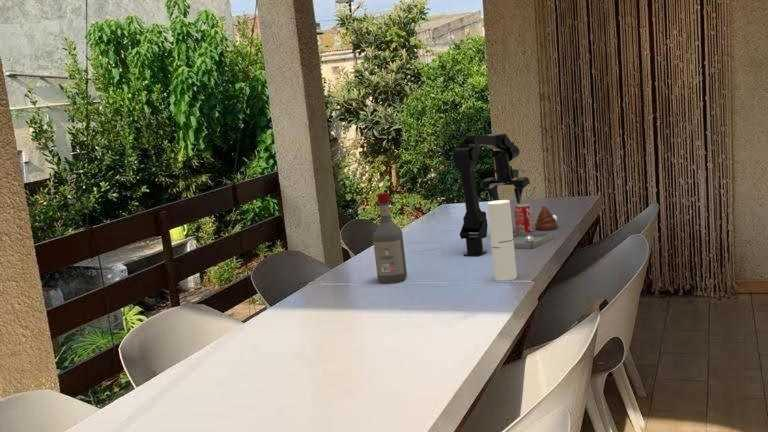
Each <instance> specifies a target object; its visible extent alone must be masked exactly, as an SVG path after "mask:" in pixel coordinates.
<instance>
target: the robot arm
mask: <svg viewBox="0 0 768 432" xmlns="http://www.w3.org/2000/svg"><path fill="white" fill-rule="evenodd" d="M470 146H473V147H470ZM480 146H482V147H483V146H486V147H487V148H488V149H490V150H492V153H491V154H490V158H493V163H494V170H493V173H494V174H495V175H496V177H487V178H485V179H483V180H482V181H481V183H480V186H481V189H484V191H486V192H487V193H488V194H489V195H490V196H491V197H492V199H493V201H497V200H500V199H499V193H498V186H513V187H514V189H513V191H514V196H515V199H516V203H517V205H518V204H521V199H522V193H523V191H524V188H526V187H527V186H529V185H530V184H531V183H530V182H531V181H530V179H529V178H528V177H527V176H519V175H520V174H519V169H514V168H513V167H512V165H511V164H510V162H512V161H513V160H515V159H516V158H518V157H519V156H520V154H521V153H520V148H519V147H518V146H517V145H515V143H514V141H511V139H510V138H509V136H508V134H506V133H491V134H488V135H486V134H485V135H484V134H477V133H474V134H467V135H465V137H464V139H463V140H461V142H460V143H458V144H457V145H456V146H455V148H454V149H453V150H454V151H453V152H452V155H451V156H452V160H453V163H454V164H453V165H454V167H455V169H456V171H458V172H459V174H460V178H461V186H462V191H463V192H462V193H463V198H464V199H463V200H464V203H465V214H464V216H463V218H462V221H463V224H462V227H461V229H460V232H459V236H460V239H461V240H464V239H465V242H466V243H465V245H466V253H463V256H464V257H466V256H467V257H470V256H471V257H480V256H483V255H484V254H486V253H488V251H487V250H484V244H483V239H484V238H487V237H488V235H487V234H488V223H489V220H488V219H487V213H486V211H482V209H481V208H480V201H479V196H478V195H479V194H478V190H477V184H476V176H475V169H476V167H477V164H478V159H477V158H478V157H479V155H480V152H481V150H480Z"/></svg>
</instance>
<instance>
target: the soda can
mask: <svg viewBox="0 0 768 432" xmlns="http://www.w3.org/2000/svg"><path fill="white" fill-rule="evenodd" d="M513 212H514V213H513V214H514V216H513V217H514V226H515V233H516V232H521V233H534V219H533V218H534V217H533V209H532V207H531V204H530V203H519V204H518V203H517V204H515V206H514V210H513Z"/></svg>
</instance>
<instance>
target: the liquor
mask: <svg viewBox="0 0 768 432" xmlns="http://www.w3.org/2000/svg"><path fill="white" fill-rule="evenodd" d="M389 199H390V195H389V193H388V192H380V193H377V200H378V202H377V203H378V206H379V214H380V220H379V221H380V222H379V224H378V226H377V227H376V229H375V231H374V232H373V235H372V240H373V241H372V243H373V251H374V257H375V266H376V267H375V268H376V274H377V281H378V282H379V284H383V285H385V284H399V283H403V282H404V281H405V280H406V279H407V277H408V272H407V270H408V269H407V265H406V264H407V263H406V253H405V246H404V245H405V244H404V238H403V237H404V236H403V231H402V228H401V227H399V226H398V225H397V224H396V223H395V222H394V221H393V219H392V217H391V211H390V200H389Z"/></svg>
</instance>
